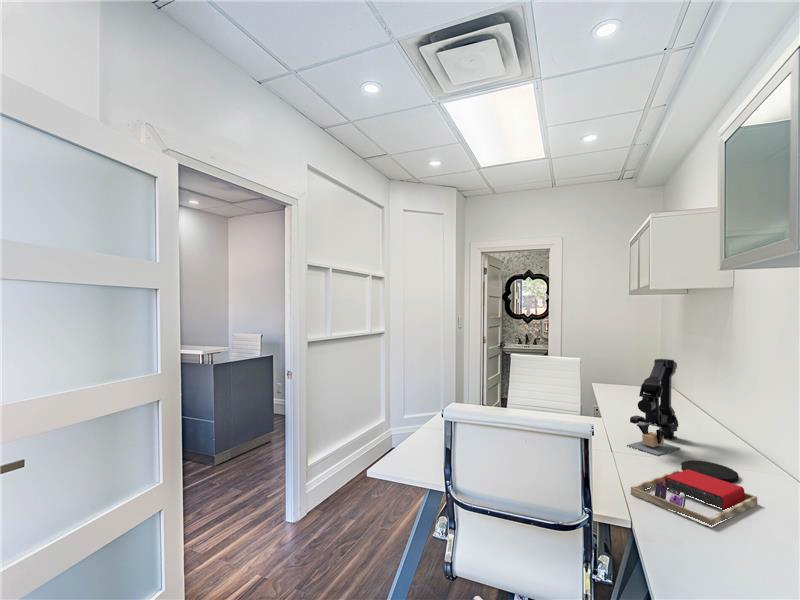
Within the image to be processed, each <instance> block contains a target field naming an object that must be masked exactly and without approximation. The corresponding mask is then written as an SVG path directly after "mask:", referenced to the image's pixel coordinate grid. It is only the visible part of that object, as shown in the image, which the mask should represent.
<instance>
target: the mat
mask: <svg viewBox="0 0 800 600" xmlns="http://www.w3.org/2000/svg"><path fill="white" fill-rule="evenodd" d="M627 446H629V447H628V448H631V447H632V449H634V448H635V449H634V450H637V449H638V450H637V451H640V450H641V451H640V452H643V451H644V453H646V452H647V454H650V455H653V456H656V455H657V456H656V457H659V455H660V456H662V454H663V455H666V454H668V453H667V452H669V453H671V452H670V451H672V452H675V451H678V450H680V449H681V447H680V446H675V445H672V444H668V443H666V442H664V444H663V445H660V446H656V447H651V446H648V445H645V444H643V440H640V441H637V442H634V443H630V444H627V445H626V447H627ZM677 449H678V450H677ZM674 450H675V451H674ZM665 453H666V454H665Z"/></svg>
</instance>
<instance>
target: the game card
mask: <svg viewBox="0 0 800 600" xmlns="http://www.w3.org/2000/svg"><path fill="white" fill-rule="evenodd" d="M667 488H670V487H668V486H665V484H660V483H656V487H655V491H654V496H657V497H659V498H661V499H664V500H666V501H667V493H668V490H667ZM674 490H675V491H674ZM669 492H670V493H671V494H670V498H669V499H668V501H669V502H671V503H674V504H676V505H679V506H681V507H684V508H686V507H685V506H686V500H687V497H686V493H684V492H681V491H679V490H676V489H673V488H670V490H669ZM679 492H680V494H679ZM672 494H673V495H672Z"/></svg>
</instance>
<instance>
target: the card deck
mask: <svg viewBox="0 0 800 600" xmlns="http://www.w3.org/2000/svg"><path fill="white" fill-rule="evenodd" d="M641 436H642V437H641V438H642V441H643V444H645V445H648V446H651V447H656V446H660V445H663V444H664V443H665V441H664V440H665V438H664V435H663V438H662V440H661V443H660V444H658V441H657V433H656V432H654V431H651V432H648V433H646V434H643V433H642V435H641Z"/></svg>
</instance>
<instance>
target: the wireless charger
mask: <svg viewBox="0 0 800 600" xmlns="http://www.w3.org/2000/svg"><path fill="white" fill-rule="evenodd" d="M680 466H681V467H680V469H681V471H684V470H687V469H688V470H692V471H695V472H698V473H701V474H704V475H707V476H710V477H713V478H716V479H720V480H723V481H726V482H729V483H732V484H735V483H737V482H739V473H738V472H737V471H736V470H734V469H732V468H730V467H728V466H725V465H723V464H718V463H715V462H710V461H704V460H694V459H693V460H692V459H691V460H683V461H682V462H681V463H680Z"/></svg>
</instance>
